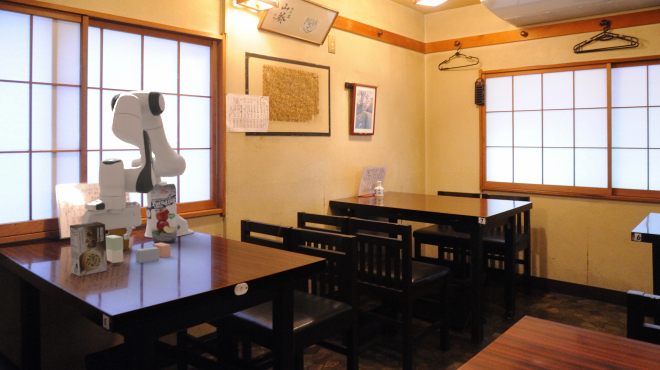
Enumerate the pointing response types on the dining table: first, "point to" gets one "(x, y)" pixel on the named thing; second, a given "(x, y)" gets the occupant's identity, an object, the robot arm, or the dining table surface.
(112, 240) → the green block
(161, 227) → the juice carton
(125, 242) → the disposable coffee cup
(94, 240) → the food box
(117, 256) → the cream block
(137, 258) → the slate block
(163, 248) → the terracotta block
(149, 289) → the dining table surface
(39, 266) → the dining table surface
